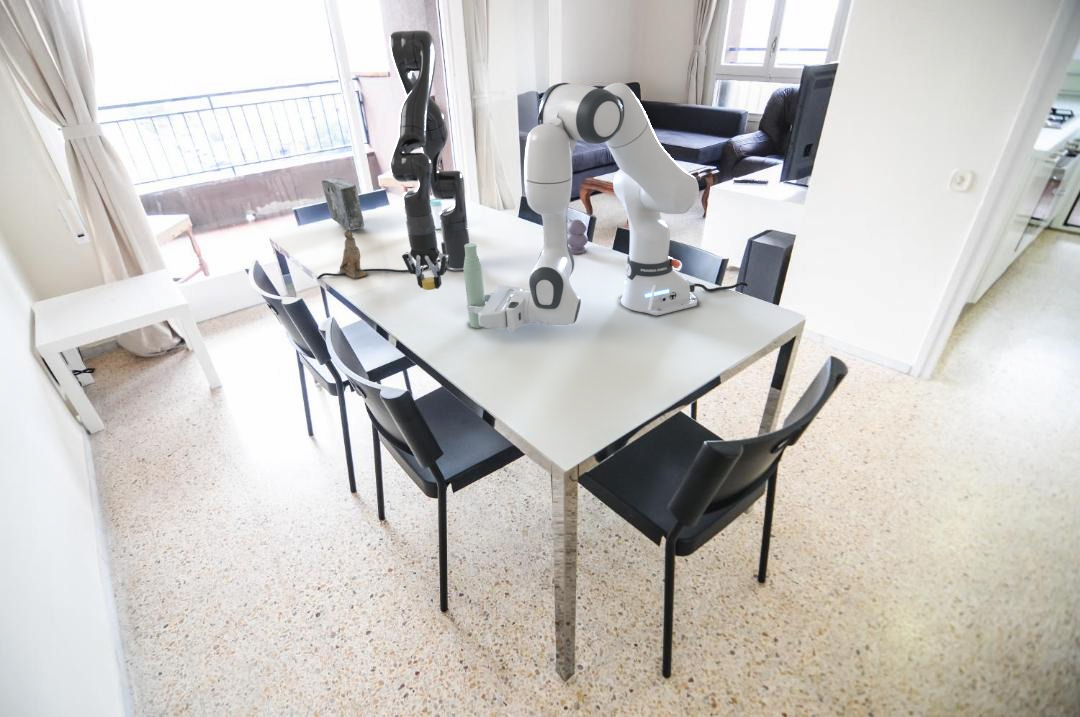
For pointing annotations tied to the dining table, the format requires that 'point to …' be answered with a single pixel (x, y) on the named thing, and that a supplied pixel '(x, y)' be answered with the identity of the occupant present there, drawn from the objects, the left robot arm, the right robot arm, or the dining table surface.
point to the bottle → (473, 282)
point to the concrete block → (343, 202)
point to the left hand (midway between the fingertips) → (430, 287)
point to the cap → (428, 283)
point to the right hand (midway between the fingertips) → (473, 303)
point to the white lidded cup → (436, 211)
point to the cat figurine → (577, 236)
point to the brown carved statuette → (351, 258)
